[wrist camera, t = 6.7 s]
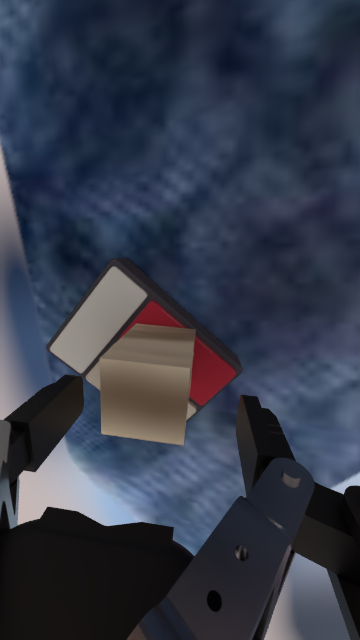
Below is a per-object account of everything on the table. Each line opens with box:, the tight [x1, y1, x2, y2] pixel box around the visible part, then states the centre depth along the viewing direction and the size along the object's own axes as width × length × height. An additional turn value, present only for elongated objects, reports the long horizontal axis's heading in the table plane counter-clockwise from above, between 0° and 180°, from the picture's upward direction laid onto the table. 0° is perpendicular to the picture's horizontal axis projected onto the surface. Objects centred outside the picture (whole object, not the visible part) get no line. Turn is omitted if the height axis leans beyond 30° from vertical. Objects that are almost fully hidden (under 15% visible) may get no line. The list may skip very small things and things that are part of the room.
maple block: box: [100, 324, 196, 445], centre depth 17 cm, size 5×5×7 cm
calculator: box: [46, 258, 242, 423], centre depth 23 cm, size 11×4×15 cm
